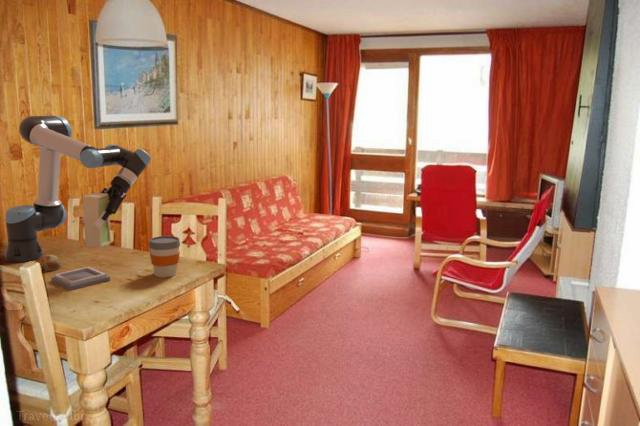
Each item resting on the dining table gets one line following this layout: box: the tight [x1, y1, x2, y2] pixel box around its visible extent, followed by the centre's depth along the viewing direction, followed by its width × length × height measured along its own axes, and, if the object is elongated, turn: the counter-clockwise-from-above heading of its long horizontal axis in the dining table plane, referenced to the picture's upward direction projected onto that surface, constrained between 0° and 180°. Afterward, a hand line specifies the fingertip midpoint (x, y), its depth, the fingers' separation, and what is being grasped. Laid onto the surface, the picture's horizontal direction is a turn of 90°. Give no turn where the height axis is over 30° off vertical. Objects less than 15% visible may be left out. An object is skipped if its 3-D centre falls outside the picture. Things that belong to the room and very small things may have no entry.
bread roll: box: [35, 254, 62, 273], centre depth 218 cm, size 10×10×8 cm
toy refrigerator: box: [82, 192, 112, 249], centre depth 206 cm, size 8×7×21 cm
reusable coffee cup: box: [148, 235, 181, 278], centre depth 214 cm, size 13×13×15 cm
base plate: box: [50, 266, 111, 291], centre depth 204 cm, size 16×16×3 cm
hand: (90, 224), depth 204 cm, fingers closed on toy refrigerator, 9 cm apart
